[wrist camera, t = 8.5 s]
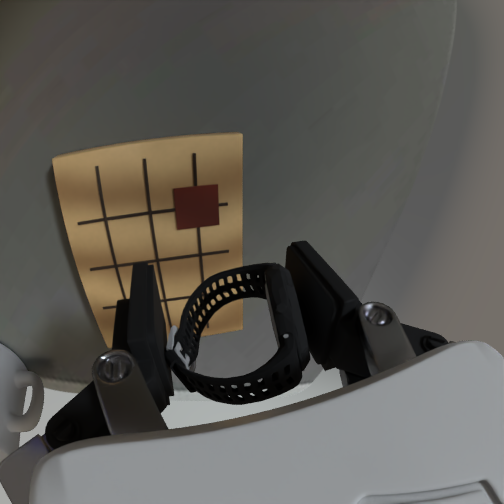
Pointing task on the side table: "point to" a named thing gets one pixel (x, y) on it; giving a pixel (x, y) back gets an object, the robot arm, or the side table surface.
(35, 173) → the side table surface
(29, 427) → the mug
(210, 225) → the board
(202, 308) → the smartwatch
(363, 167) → the side table surface
